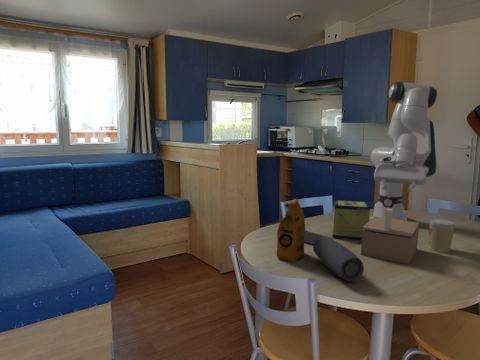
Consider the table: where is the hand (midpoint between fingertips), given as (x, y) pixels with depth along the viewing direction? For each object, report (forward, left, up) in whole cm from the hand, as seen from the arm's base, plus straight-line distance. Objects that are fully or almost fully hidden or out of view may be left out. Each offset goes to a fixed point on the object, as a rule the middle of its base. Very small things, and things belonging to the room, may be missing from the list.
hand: (396, 190), depth 156 cm
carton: (+4, 0, -25) cm, 25 cm away
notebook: (+6, -36, -26) cm, 45 cm away
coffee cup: (-11, +17, -25) cm, 32 cm away
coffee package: (+31, -32, -25) cm, 51 cm away
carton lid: (+4, 0, -15) cm, 16 cm away
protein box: (-8, -20, -25) cm, 33 cm away
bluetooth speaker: (+36, -12, -25) cm, 46 cm away
